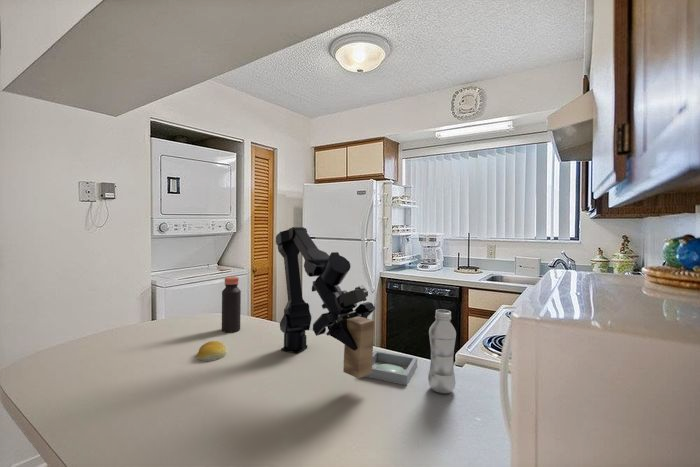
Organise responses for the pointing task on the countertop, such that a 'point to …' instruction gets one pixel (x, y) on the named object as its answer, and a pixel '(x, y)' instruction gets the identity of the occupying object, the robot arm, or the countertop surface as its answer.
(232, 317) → the vinegar
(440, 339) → the plastic bottle
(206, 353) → the bread roll
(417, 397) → the countertop surface
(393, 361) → the walled pen
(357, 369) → the walnut block
